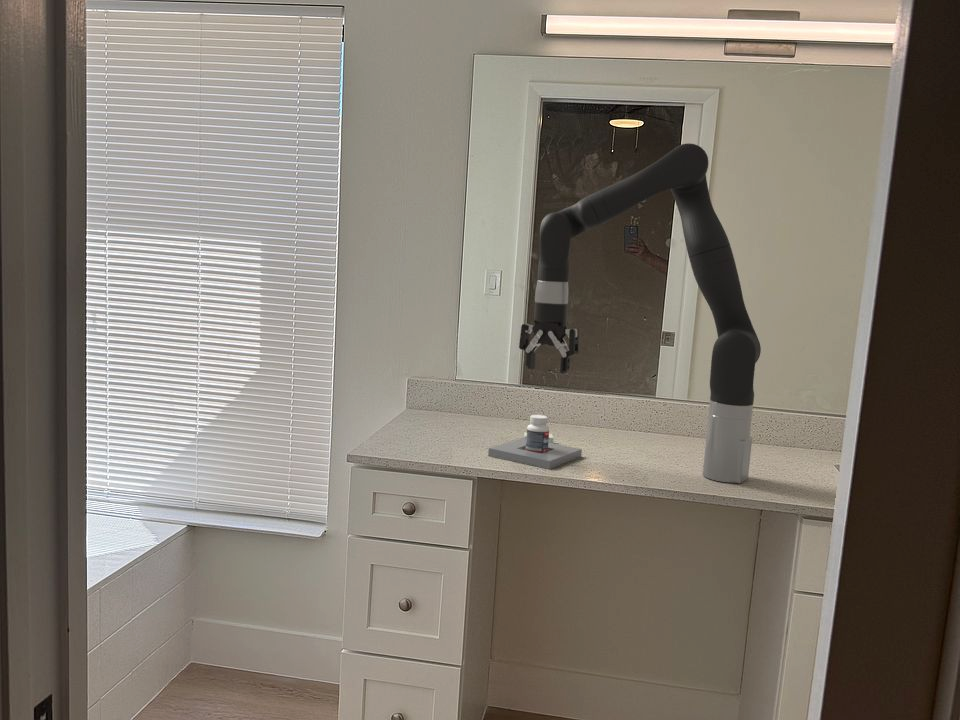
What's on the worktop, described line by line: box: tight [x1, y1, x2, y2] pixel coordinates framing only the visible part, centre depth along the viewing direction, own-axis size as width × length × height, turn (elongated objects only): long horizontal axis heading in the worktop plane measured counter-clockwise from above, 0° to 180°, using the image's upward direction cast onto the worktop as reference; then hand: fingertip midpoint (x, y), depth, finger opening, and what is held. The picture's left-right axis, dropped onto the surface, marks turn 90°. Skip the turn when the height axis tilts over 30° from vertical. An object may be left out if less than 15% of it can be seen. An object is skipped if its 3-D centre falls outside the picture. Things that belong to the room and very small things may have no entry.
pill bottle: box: [525, 414, 550, 454], centre depth 200 cm, size 5×5×9 cm
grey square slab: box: [487, 436, 583, 470], centre depth 201 cm, size 16×16×2 cm
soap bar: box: [523, 431, 554, 443], centre depth 214 cm, size 7×4×2 cm, turn 90°
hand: (547, 371), depth 198 cm, fingers open, 8 cm apart
